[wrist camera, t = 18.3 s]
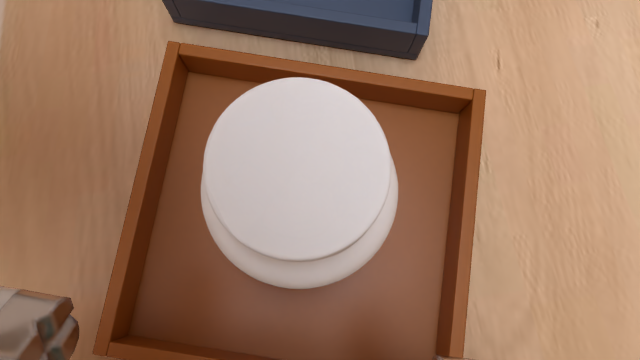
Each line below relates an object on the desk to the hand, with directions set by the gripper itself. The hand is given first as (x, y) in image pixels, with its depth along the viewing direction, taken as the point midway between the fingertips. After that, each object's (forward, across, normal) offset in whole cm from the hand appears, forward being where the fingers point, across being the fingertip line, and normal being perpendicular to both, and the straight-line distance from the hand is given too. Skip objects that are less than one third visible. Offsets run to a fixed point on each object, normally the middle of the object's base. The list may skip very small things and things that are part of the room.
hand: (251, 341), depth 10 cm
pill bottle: (+11, 0, +5) cm, 12 cm away
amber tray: (+11, 0, +5) cm, 12 cm away
